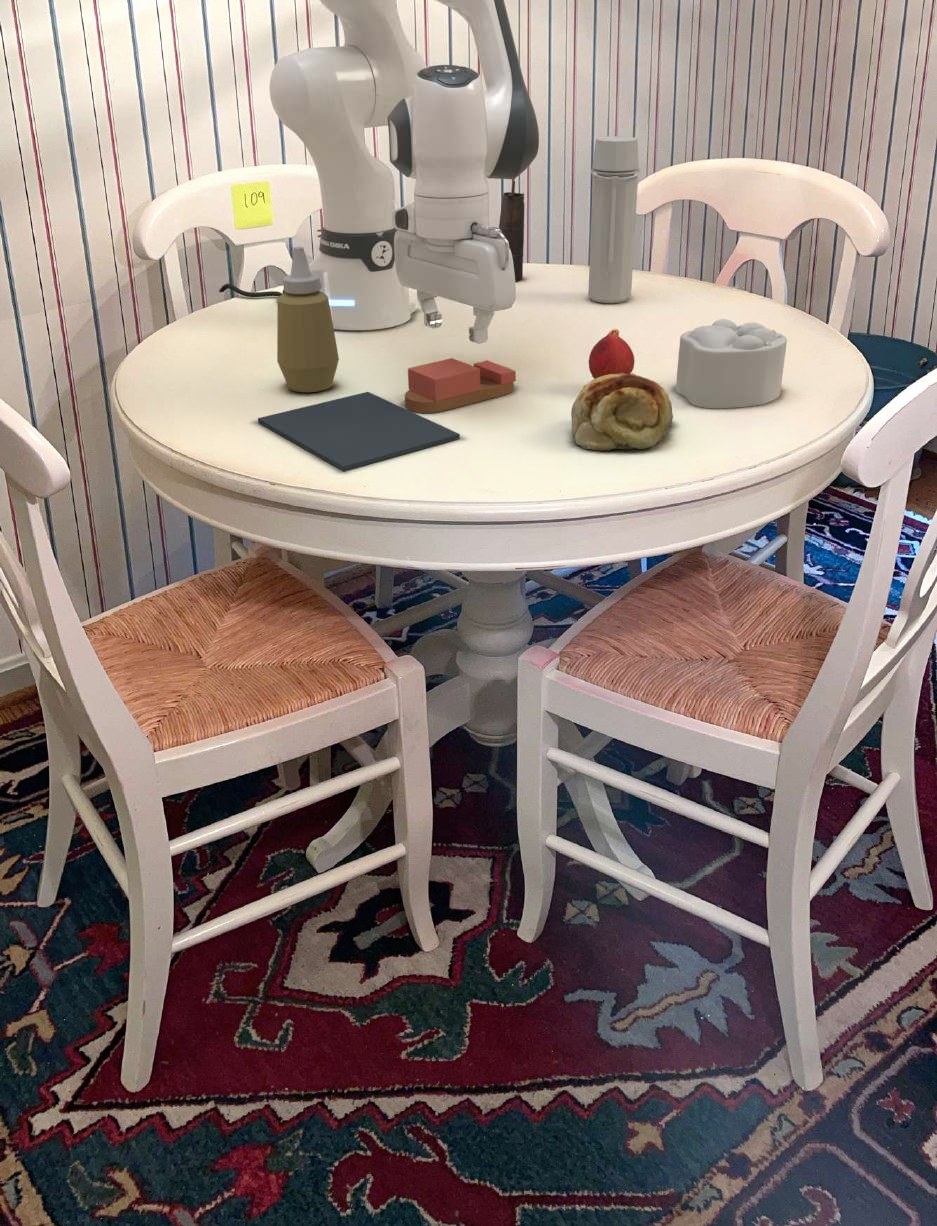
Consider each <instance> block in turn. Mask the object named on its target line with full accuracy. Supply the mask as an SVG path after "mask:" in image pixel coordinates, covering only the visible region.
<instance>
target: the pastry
mask: <svg viewBox="0 0 937 1226" xmlns="http://www.w3.org/2000/svg"><path fill="white" fill-rule="evenodd" d="M570 416H571V432H572V435H573V437H574V439H575V440H574V442H575V444H576V445H578V446H580V447H581V448H582V449H585V450H592V451H611V450H620V449H621V450H625V451H626V450H634V449H637V450H646V449H647V448H654V447H655V446H656V445H657V444H659V443H660V442H662V440H663V439H664V438H665V436H666V435H667V434H668V431H669V429H670V428H669V427H671V425H672V423H673V419H674V413H673V407H672V401H671V399H670V396H669V393H668V392H667V391H666V389H665V388H664V387H663V386H662V385H661V384H659V383H658V382H656V381H655V380H651V379H650V378H647V377H644V376H641V375H637V374H635V373H634V372H631V374H624V373H619V374H609V375H604V376H601V377H598V378H596V379H594V378H593V379H592V380H591V381H590V382H588V383H587V384H584V385H583V387H582V389H581V390H580V392H579V394H578V395H577V396H576V398H575V400H574V402H573V403H572V407H571V411H570Z"/></svg>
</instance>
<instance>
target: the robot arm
mask: <svg viewBox="0 0 937 1226" xmlns="http://www.w3.org/2000/svg"><path fill="white" fill-rule="evenodd" d="M434 1H436V2H438V3H439V4H442V5H444V6H446V7H448V8H449V9H451V10H453V11H454V12H456V13H457V14H458V15H460V16H461V17H462V18H463V19H464V20H465V22H466V23H467V24H468V26H469V28H470V30H471V34H472V36H473V40H474V44H475V48H476V53H477V56H478V60H479V63H480V69H481V72H482V76H483V80H484V83H485V87H486V91H484V85H483V81H482V77H481V75H480V74H479V73H478V72H477V71H476V70H474V69H472V68H471V67H468V66H460V65H456V64H437V65H431V66H427V64H426V62H425V60H424V58H423V57H422V56H421V54H420V53H419V52H418V51H417V50H416V49H415V48H414V47H413V46H412V45H411V42H410V41H409V40H408V37H407V36H406V33H405V31H404V28H403V26H402V22H401V20H400V15H399V10H398V3H397V0H319V2H320V3H321V4H322V5H323V6H324V7H325V9H327V10H328V11H329V12H331V13H332V14H334V15H335V16H337V17H338V19H339V21H340V24H341V27H342V30H343V37H344V45H340V46H323V47H321V46H319V47H309V48H305V49H302V50H299V51H295V52H293V53H290V54H287V55H284V56H282V57H281V58H279V59H278V60H277V61H276V63H275V65H274V67H273V69H272V71H271V75H270V80H269V98H270V103H271V105H272V108H273V110H274V113H275V114H276V116H277V118H278V119H279V120H280V121H281V123H282V124H283V125H284V126H285V127H287V128H288V129H289V130H290V131H292V132H293V133H294V134H295V135H296V136H297V137H298V138H299V140H301V142H302V143H303V145H304V146H305V148H306V149H307V151H308V153H309V155H310V157H311V160H312V162H313V164H314V166H315V170H316V172H317V177H318V183H319V190H320V196H321V197H320V198H321V206H322V217H323V227H322V228H320V229H316V232H319V233H320V232H321V233H320V234H318V235H317V236H316V237H317V238H319V247H318V251H319V253H318V254H317V255H316V256H315V257H314V259H313V260H312V261H311V262H310V263H308V265H309V269H310V272H311V274H315V275H318V276H319V277H320V290H319V291H321V292H323V293H325V294H326V295H327V296H328V299H329V305H330V310H331V316H332V322H333V328H334V330H341V331H372V330H382V329H387V328H388V329H389V328H393V327H397V326H400V325H403V324H406V323H407V322H409V321H410V320H411V317H412V314H413V313H415V312H416V311H417V308H416V304H415V303H414V302H411V298H410V289H412V290H414V291H415V290H416V299H417V301H418V303H419V307H420V309H421V311H422V313H423V325H424V326H425V327H427V328H431V329H438V328H441V327H442V325H443V321H442V318H443V316H442V314H443V313H442V312H440V311H439V309H438V306H437V302H436V299H435V298H437V297H439V298H442V299H446V300H448V301H449V300H450V301H453V302H455V303H459V304H462V305H466V306H469V307H472V311H473V312H472V313H473V316H475V320H474V323H473V326H469V327H468V334H469V336H468V340H469V341H470V342H472V343H475V344H478V345H479V344H484V343H486V342H487V341H488V339H489V338H488V337H489V336H488V335H489V334H488V333H489V332H488V331H489V330H488V329H489V327H490V325H491V322H492V320H493V318H494V315H495V313H496V312H500V311H505V310H509V309H511V308H512V307H513V306H514V304H515V302H516V299H517V286H516V281H515V273H514V264H513V258H512V253H511V250H510V248H509V242H508V240H506V238H505V236H504V235H503V234H502V231H501V230H500V229H499V227H495V226H490V190H489V189H490V188H489V184H488V180H487V179H496V180H512V179H514V180H516V178H518V177H519V176H520V175H521V174H523V173H524V172H525V171H526V170H527V169H528V168H529V167H530V165H531V164H532V163H533V161H535V159H536V157H537V156H538V153H539V147H540V146H539V145H540V131H539V125H538V124H539V123H538V119H537V115H536V111H535V108H534V105H533V102H532V99H531V96H530V94H529V91H528V89H527V86H526V82H525V79H524V76H523V72H522V68H521V64H520V60H519V57H518V51H517V48H516V45H515V39H514V36H513V35H514V34H513V31H512V27H511V23H510V19H509V15H508V10H507V7H506V3H505V0H434ZM379 127H388V144H389V145H388V146H389V162H390V163H391V165H392V166H393V167H394V168H396V170H398V172H400V173H401V174H402V175H403V176H404V177H406V178H411V179H414V180H415V184H414V189H413V200H414V201H413V202H410V203H409V204H405V205H404V206H401V207H398V208H396V188H395V178H394V175H393V172H392V171H391V169H390V167H389V166H388V165H387V164H386V163H385V162H384V161H382V160H380V159H379V158H377V157H375V156H373V155H372V154H371V153H370V150H369V148H368V146H367V143H366V141H365V140H366V139H365V136H364V129H370V128H379ZM499 237H501V238H499ZM228 289H229V290H232V291H234V292H235V293H236V294H238V295H240V296H243V297H247V298H265V297H266V298H267V297H277V298H279V297H280V296H281V295H282V294H283V293H285V291H284V288H283V289H282V292H281V291H273V290H272V291H271V290H269V291H256V292H252V291H245V290H242V289H241V288H239V287H237V286H236V285H233V284H232V283H225V284H223V285H222V286H221V287H220V288H219V290H218V292H219V293H225V291H226V290H228Z"/></svg>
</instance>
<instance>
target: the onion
mask: <svg viewBox="0 0 937 1226" xmlns="http://www.w3.org/2000/svg"><path fill="white" fill-rule="evenodd" d="M619 335H620V331H619V329H618V328H612V329H611V330H610V331H609V332H608V334H606V335H605V336H603V337H602V338H601V339H599V340H598V341H597V343H595V344H594V345H593V347H592V349H591V351H590V354H589V357H588V369H589V372H590V374H591V377H592V378H593V380H594V379H596V378H598V377H601V376H604V375H609V374H619V373H624V374H632V373H633V370H634V369H635V368H634V367H635V363H636V362H635V361H636V360H635V355H634V352H633V350H632V348H631V346H630V345H629V344H628V343H627V341H625V340H624V339H623V338H622V337H621V336H619Z"/></svg>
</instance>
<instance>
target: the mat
mask: <svg viewBox="0 0 937 1226" xmlns="http://www.w3.org/2000/svg"><path fill="white" fill-rule="evenodd" d="M257 422H258V424H259V425H262V426H263V427H265V428H267V429H268V430H269V431H272V432H274V433H276V434H278V435H279V436H280V437H283V438H285V439H286V440H288V441H290V442H292V443H294V444H295V445H297V446H298V447H300V448H302V449H304V450H306V451H307V452H309V453H311V454H312V455H314V456H316V457H318V458H320V459H322V460H323V461H324V462H326V463H329V465H332V466H334V467H336V468H337V469H339V470H341V471H342V472H345V471H350V470H353V469H356V468H360V467H364V466H367V465H370V464H374V463H379V462H381V461H386V460H388V459H391V458H395V457H399V456H402V455H406V454H410V453H413V452H417V451H421V450H423V449H427V448H430V447H435V446H438V445H442V444H445V443H449V442H452V441H456V440H459V439H461V434H460V433H459V432H456V431H454V430H452V429H450V428H448V427H446V426H443V425H441V424H439V423H436V422H435V421H433V420H430V419H428V418H426V417H424V416H422V415H420V414H417V413H416V412H413V411H410V410H408V409H407V408H404V407H402V406H399V405H398V404H396V403H393V402H390V401H389V400H386V399H385V398H382V397H380V396H378V395H376V394H373V393H372V392H370V391H365V392H361V393H356V394H353V395H349V396H344V397H340V398H336V399H332V400H327V401H323V402H319V403H315V404H311V405H307V406H302V407H298V408H295V409H290V410H287V411H282V412H278V413H274V414H269V415H265V416H261V417H258V418H257Z"/></svg>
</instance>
